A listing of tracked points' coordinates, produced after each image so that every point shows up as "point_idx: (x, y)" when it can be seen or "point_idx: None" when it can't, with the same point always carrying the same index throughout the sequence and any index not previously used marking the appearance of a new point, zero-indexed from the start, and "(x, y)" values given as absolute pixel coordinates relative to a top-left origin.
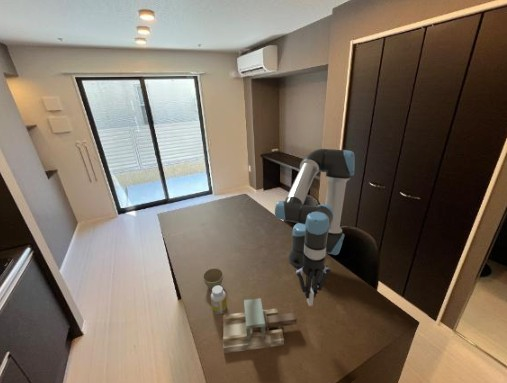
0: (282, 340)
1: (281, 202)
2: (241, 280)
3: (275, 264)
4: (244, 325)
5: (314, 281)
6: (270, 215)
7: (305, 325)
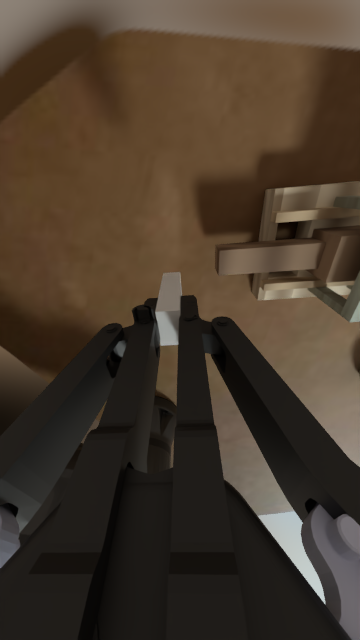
0: (279, 188)
1: None
2: (302, 377)
3: None
4: None
5: (143, 391)
6: None
7: (181, 251)
